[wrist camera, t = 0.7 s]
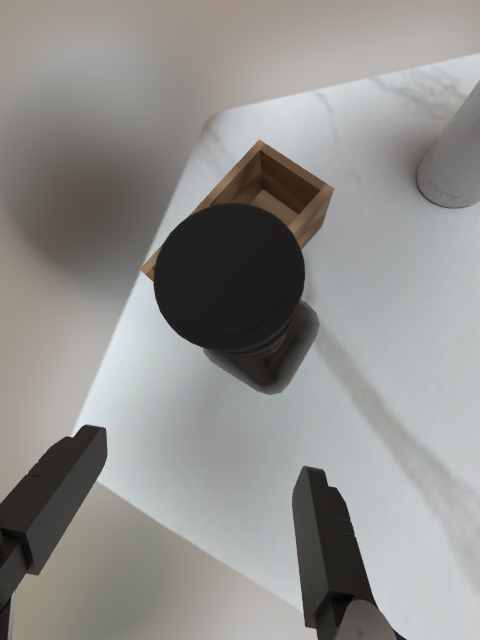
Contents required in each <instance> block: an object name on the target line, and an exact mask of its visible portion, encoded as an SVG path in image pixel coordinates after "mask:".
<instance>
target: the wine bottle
mask: <svg viewBox="0 0 480 640" xmlns="http://www.w3.org/2000/svg"><path fill="white" fill-rule="evenodd" d="M304 281H305V264H304V258H303V255H302V252H301V249H300V246H299V244H298V242H297V240H296V238H295V236H294V234H293V233H292V231H291V230H290V229H289V228H288V227H287V226H286V225H285V224H284V223H283V222H282V221H281V220H280V219H279V218H277V217H276V216H275V215H274V214H272V213H270V212H268V211H266V210H264V209H262V208H259V207H256V206H252V205H249V204H242V203H224V204H216V205H213V206H210V207H207V208H204V209H202V210H200V211H198V212H196V213H194V214H192V215H190V216H189V217H188V218H186V219H185V220H184V221H182V222H181V223H180V224H179V225H178V226H177V227H176V228H175V229H174V230H173V231H172V232H171V233H170V234H169V236H168V237H167V239H166V241H165V242H164V244H163V245H162V247H161V250H160V252H159V254H158V256H157V259H156V264H155V269H154V291H155V297H156V301H157V304H158V306H159V309H160V312H161V314H162V315H163V317H164V318H165V320H166V321H167V322H168V324H169V325H170V326H171V327H172V328H173V329H174V331H175V332H176V333H177V334H178V335H180V336H181V337H183V338H184V339H186V340H187V341H189V342H191V343H193V344H195V345H198V346H200V347H202V348H203V349H204V353H205V355H206V356H207V357H208V358H209V359H210V361H211V362H213V363H214V364H216V365H217V366H219V367H221V368H222V369H224V370H225V371H227V372H228V373H230V374H232V375H233V376H235V377H236V378H238V379H239V380H241V381H242V382H244V383H246V384H247V385H249V386H250V387H252V388H253V389H255V390H256V391H258V392H262V393H265V394H268V395H273V394H278V393H281V392H282V391H283V390H284V389H285V388H286V387H287V386H288V385H289V383H290V382H291V380H292V378H293V376H294V375H295V373H296V371H297V369H298V368H299V366H300V364H301V363H302V361H303V359H304V357H305V356H306V354H307V352H308V350H309V349H310V347H311V345H312V343H313V342H314V340H315V338H316V336H317V334H318V330H319V326H320V323H319V320H318V316H317V313H316V312H315V311H314V310H313V309H312V308H311V307H310V306H309V305H308V304H307V303H306V302H305V301H303V300H301V299H300V298H301V296H302V293H303V289H304Z"/></svg>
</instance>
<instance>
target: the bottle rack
mask: <svg viewBox="0 0 480 640" xmlns="http://www.w3.org/2000/svg"><path fill="white" fill-rule="evenodd" d="M333 190H334V188H332V187H331V186H329V185H328V184H326V183H325V182H323V181H322V180H320V179H319V178H317V177H316V176H314V175H313V174H311V173H309V172H308V171H306V170H305V169H303V168H302V167H300V166H299V165H297V164H296V163H294V162H293V161H291V160H290V159H288V158H287V157H285V156H284V155H282V154H281V153H279V152H277V151H276V150H274V149H273V148H271V147H270V146H268V145H267V144H265V143H264V142H262V141H261V140H258V141H257V142H256V144H255V145H254V146H253V147H252V148H251V149H250V150H249V151H248V152H247V153H246V154H245V156H244V157H243V158H242V159H241V160H240V161H239V162H238V163H237V164H236V165H235V166H234V167H233V169H232V170H231V171H230V172H229V173H228V174H227V175H226V176H225V177H224V178H223V179H222V181H221V182H220V183H219V184H218V185H217V186H216V187H215V188H214V189H213V190H212V191H211V192H210V194H209V195H208V196H207V197H206V198H205V199H204V200H203V201H202V202H201V203H200V204H199V206H198V207H197V208H196V209H195V210H194V211H193V212H192V213H191V214H190V215H192V214H194V213H196V212H198V211H200V210H202V209H204V208H207V207H210V206H213V205H216V204H224V203H242V204H249V205H252V206H256V207H259V208H262V209H264V210H266V211H268V212H270V213H272V214H274V215H275V216H276V217H277V218H279V219H280V220H281V221H282V222H283V223H284V224H285V225H286V226H287V227H288V228H289V229H290V230H291V231H292V233H293V234H294V236H295V238H296V240H297V242H298V244H299V246H300V249H302V248H303V247H304V246H305V245H306V244H307V243H308V241H309V240H310V239H311V238H312V237H313V236H314V235H315V234H316V233H317V231H318V230H319V229H320V228H321V227H322V224H323V221H324V218H325V215H326V212H327V209H328V206H329V203H330V200H331V196H332V193H333ZM190 215H189V216H190ZM189 216H188V217H189ZM188 217H187V218H188ZM161 247H162V246H161ZM161 247H160V248H159V249H158V250H157V251H156V252H155V253H154V254H153V256H152V257H151V258H150V259H149V260H148V261H147V262H146V263H145V264H144V265H143V266H142V268H141V269H140V270H141V271H142V272H143V273H144V274H145V275H146V276H148V277H149V278H150V279H151V280H152V281H153V282H154V269H155V264H156V259H157V256H158V254H159V252H160V250H161Z"/></svg>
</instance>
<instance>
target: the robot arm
mask: <svg viewBox="0 0 480 640" xmlns="http://www.w3.org/2000/svg"><path fill="white" fill-rule="evenodd" d="M416 180H417V184H418V187H419V189H420V191H421V192H422V193H423V194H424V196H425V197H426V198H428V199H429V200H430V201H432V202H434V203H436V204H438V205H441V206H444V207H451V208H459V207H466V206H469V205H472V204H474V203H476V202H478V201H479V200H480V80H479V82H478V83H477V84H476V86H475V87H474V89H473V90H472V91H471V93H470V94H469V96H468V97H467V98H466V100H465V101H464V103H463V104H462V105H461V107H460V108H459V110H458V111H457V112H456V114H455V115H454V117H453V118H452V119H451V121H450V122H449V124H448V125H447V126H446V128H445V129H444V131H443V132H442V133H441V135H440V136H439V137H438V139H437V140H436V142H435V143H434V144H433V146H432V147H431V149H430V150H429V151H428V153H427V154H426V156H425V157H424V158H423V160H422V161H421V163H420V165H419V167H418V170H417V173H416ZM106 459H107V435H106V429H105V428H103V427H98V426H92V425H87V424H86V425H84V426H82V427H81V428H80V430H79V431H78V432H77V433H76V435H75V436H74V437H73V438H72V437H67V436H66V437H64V438H63V439H61V440H60V441H58V442H57V443H56V444H54V445H53V446H51V447H50V448H49V449H48V450H47V452H46V453H45V454H44V455H43V456H42V457H41V458H40V459H39V462H38V463H36V464H35V465H34V466H33V467H32V469H31V470H30V471H29V473H28V474H27V475H25V477H24V478H23V479H22V480H21V481H20V482H19V483H18V484H17V485H16V487H15V488H14V489H13V490H12V491H11V492H10V493H9V495H8V496H7V497H6V498H5V499H4V500H3V501H2V502H1V504H0V640H12V630H13V618H14V606H15V594H16V588H17V587H18V585H19V583H20V582H21V580H22V579H23V577H24V575H25V574H26V573H28V574H33V575H39V573H40V572H41V570H42V568H43V567H44V565H45V563H46V562H47V560H48V559H49V557H50V555H51V554H52V552H53V550H54V549H55V547H56V545H57V544H58V542H59V540H60V539H61V537H62V536H63V534H64V532H65V531H66V529H67V527H68V526H69V524H70V522H71V521H72V519H73V517H74V516H75V514H76V512H77V511H78V509H79V507H80V506H81V504H82V503H83V501H84V499H85V498H86V496H87V494H88V493H89V491H90V489H91V488H92V486H93V484H94V483H95V481H96V479H97V478H98V476H99V474H100V473H101V471H102V469H103V467H104V465H105V462H106ZM292 508H293V518H294V527H295V536H296V545H297V555H298V564H299V573H300V582H301V592H302V601H303V610H304V619H305V627H309V628H315V629H316V630H317V637H318V640H406V639H405V638H403V637H402V636H401V635H399V634H398V633H397V632H396V631H395V630H394V629H393V628H392V627H391V626H390V624H389V622H388V621H387V619H386V618H385V617H384V615H383V614H382V613H381V612H380V610H379V608H378V607H377V604H376V602H375V600H374V597H373V594H372V591H371V588H370V584H369V581H368V578H367V574H366V571H365V567H364V564H363V560H362V557H361V554H360V550H359V547H358V543H357V540H356V537H355V535H354V534H355V533H354V530H353V526H352V523H351V522H350V520H351V519H350V516H349V512H348V509H347V505H346V502H345V501H344V499H343V498H342V496H341V494H340V493H339V491H338V490H337V488H335V487H330V486H328V483H327V479H326V475H325V472H324V470H323V469H318V468H313V467H308V466H303V468H302V470H301V472H300V475H299V477H298V480H297V482H296V485H295V487H294V490H293V496H292Z"/></svg>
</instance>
